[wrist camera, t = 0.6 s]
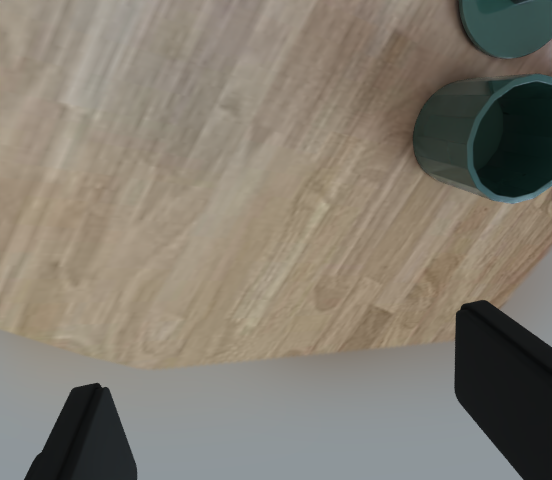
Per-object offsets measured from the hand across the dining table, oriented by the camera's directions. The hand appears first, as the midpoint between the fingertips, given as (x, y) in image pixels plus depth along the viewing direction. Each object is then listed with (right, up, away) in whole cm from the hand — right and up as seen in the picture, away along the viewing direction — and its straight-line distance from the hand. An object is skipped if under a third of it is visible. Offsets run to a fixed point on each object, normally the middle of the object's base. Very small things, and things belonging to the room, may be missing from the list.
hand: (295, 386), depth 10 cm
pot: (+20, +16, +34) cm, 43 cm away
